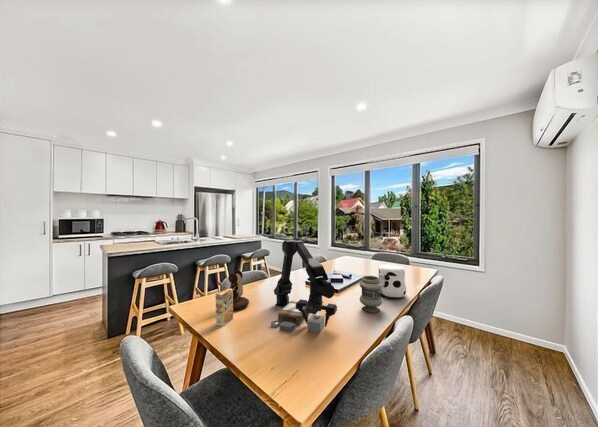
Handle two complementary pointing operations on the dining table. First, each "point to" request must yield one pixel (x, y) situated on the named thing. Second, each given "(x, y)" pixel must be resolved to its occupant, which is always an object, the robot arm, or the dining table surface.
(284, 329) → the rubber block
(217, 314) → the candy box
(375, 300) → the apothecary jar
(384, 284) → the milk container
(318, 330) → the housing
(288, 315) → the walnut stand
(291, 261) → the robot arm
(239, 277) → the brown wooden figurine
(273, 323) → the steel nut
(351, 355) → the dining table surface
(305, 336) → the dining table surface
